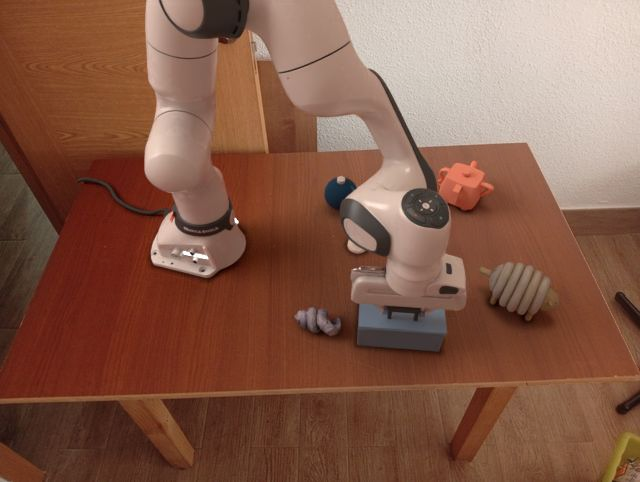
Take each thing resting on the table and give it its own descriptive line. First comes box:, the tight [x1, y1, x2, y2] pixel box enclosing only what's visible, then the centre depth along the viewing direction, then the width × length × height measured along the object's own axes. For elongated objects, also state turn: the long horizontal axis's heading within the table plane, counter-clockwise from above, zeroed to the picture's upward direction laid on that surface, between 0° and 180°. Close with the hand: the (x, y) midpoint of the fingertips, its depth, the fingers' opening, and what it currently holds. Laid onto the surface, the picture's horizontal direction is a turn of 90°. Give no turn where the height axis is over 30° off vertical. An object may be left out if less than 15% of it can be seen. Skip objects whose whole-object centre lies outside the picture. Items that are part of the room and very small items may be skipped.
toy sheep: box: [478, 261, 561, 322], centre depth 100 cm, size 11×17×11 cm, turn 61°
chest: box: [356, 304, 446, 353], centre depth 100 cm, size 14×17×7 cm
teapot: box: [437, 160, 495, 211], centre depth 121 cm, size 12×12×10 cm
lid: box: [357, 304, 448, 336], centre depth 95 cm, size 14×17×5 cm
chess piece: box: [346, 239, 366, 254], centre depth 112 cm, size 5×5×10 cm
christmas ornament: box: [323, 175, 358, 211], centre depth 120 cm, size 8×8×10 cm
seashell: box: [293, 306, 342, 337], centre depth 100 cm, size 5×5×10 cm
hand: (403, 312), depth 92 cm, fingers closed on lid, 6 cm apart
